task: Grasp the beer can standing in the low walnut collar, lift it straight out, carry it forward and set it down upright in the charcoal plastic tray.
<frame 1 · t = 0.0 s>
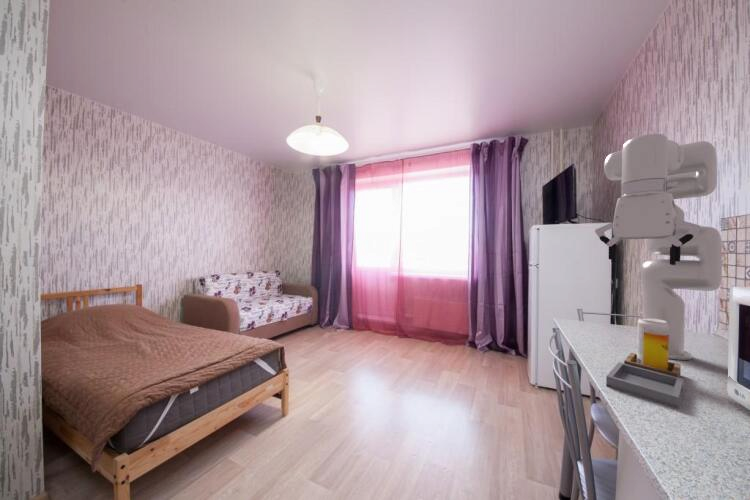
hand: (641, 263, 62), 31 cm above the counter, tool pointing down, fingers open, 9 cm apart
collar: (651, 373, 74), on the counter
beer can: (651, 373, 74), resting in collar
tray: (644, 387, 66), on the counter
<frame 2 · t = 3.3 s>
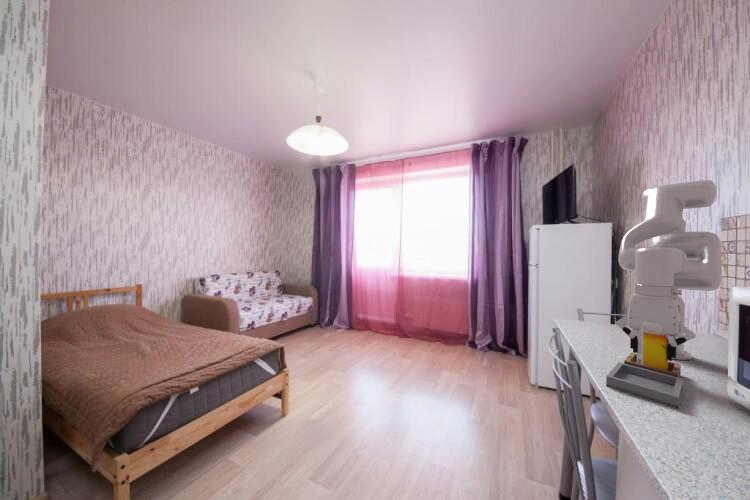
hand: (652, 355, 74), 5 cm above the counter, tool pointing down, fingers closed on beer can, 6 cm apart
beer can: (651, 373, 74), resting in collar, touching gripper
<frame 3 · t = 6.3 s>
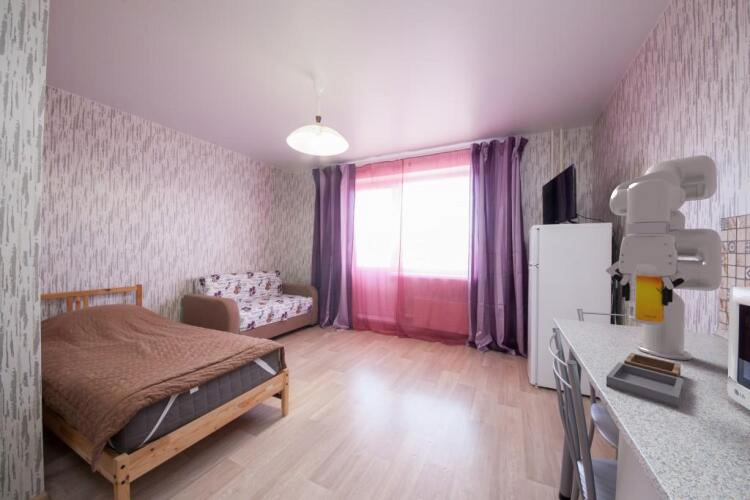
hand: (646, 301, 66), 21 cm above the counter, tool pointing down, fingers closed on beer can, 6 cm apart
beer can: (645, 323, 66), point 16 cm above the counter, touching gripper
when the fingers open (7 cm above the counter, at t = 9.5 s): beer can stays where it is, resting on tray.
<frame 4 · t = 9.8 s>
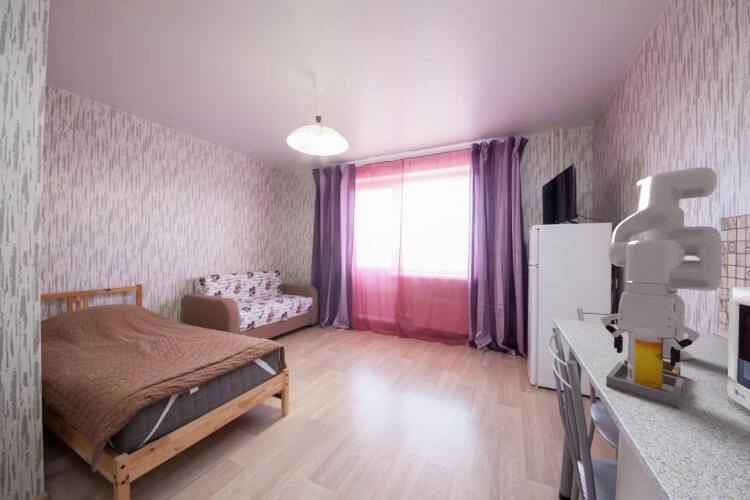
hand: (644, 357, 66), 7 cm above the counter, tool pointing down, fingers open, 9 cm apart
beer can: (644, 385, 67), resting on tray
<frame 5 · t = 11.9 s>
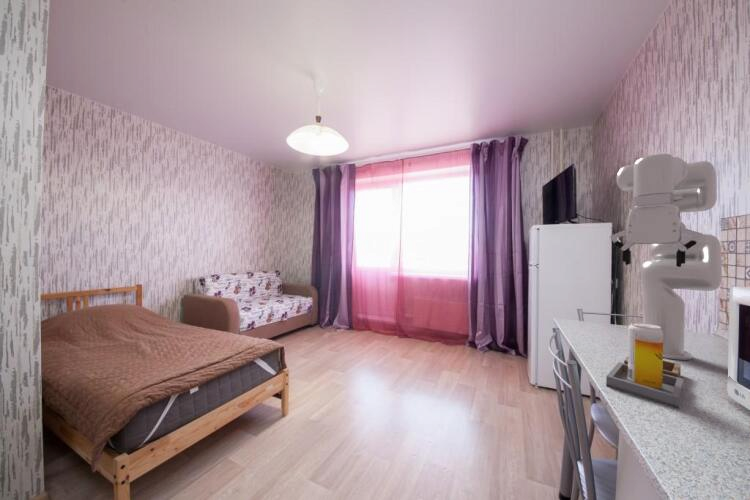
hand: (652, 265, 72), 30 cm above the counter, tool pointing down, fingers open, 9 cm apart
nothing on the counter moved.
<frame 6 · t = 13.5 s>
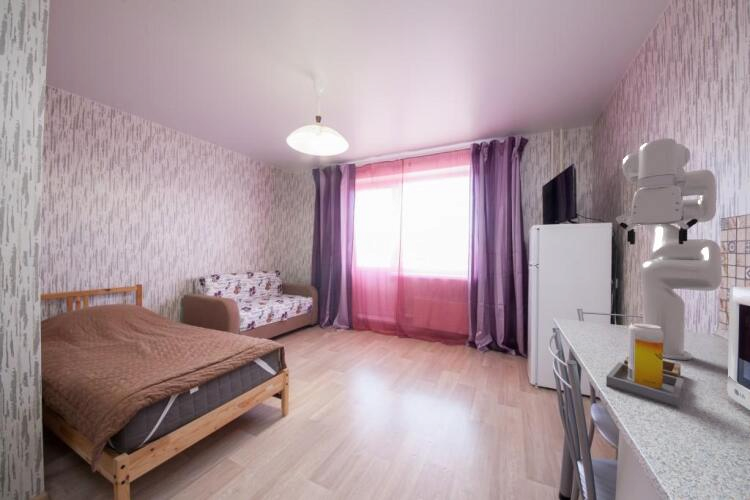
hand: (655, 244, 76), 36 cm above the counter, tool pointing down, fingers open, 9 cm apart
nothing on the counter moved.
at the end: beer can inside the target area on the tray (0.1 cm from its centre), point 0.4 cm above the tray's base; beer can tilted 0°; the gripper is holding nothing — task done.
